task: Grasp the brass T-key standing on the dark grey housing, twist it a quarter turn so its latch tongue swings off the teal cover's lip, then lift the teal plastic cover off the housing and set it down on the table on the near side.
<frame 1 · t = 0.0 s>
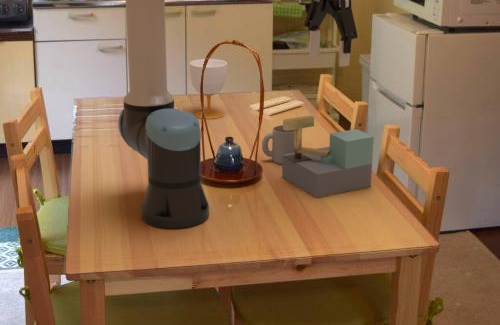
hand: (328, 60, 207), 28 cm above the table, fingers open, 13 cm apart
cover: (350, 162, 200), point 6 cm above the table, touching housing
housing: (325, 181, 203), on the table
cup 2: (208, 115, 259), on the table
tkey: (307, 140, 198), point 11 cm above the table, hinge at 0.0°
cup: (280, 161, 218), on the table
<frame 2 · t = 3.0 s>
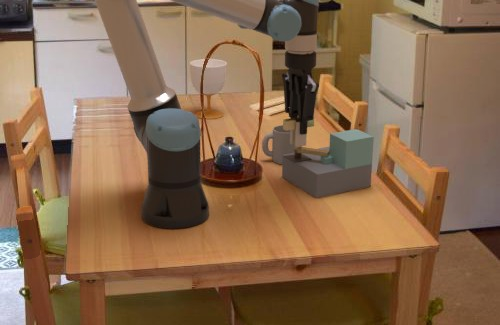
hand: (298, 144, 201), 10 cm above the table, fingers closed on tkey, 2 cm apart
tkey: (307, 140, 198), point 11 cm above the table, hinge at 0.0°, touching gripper
everything else where it was.
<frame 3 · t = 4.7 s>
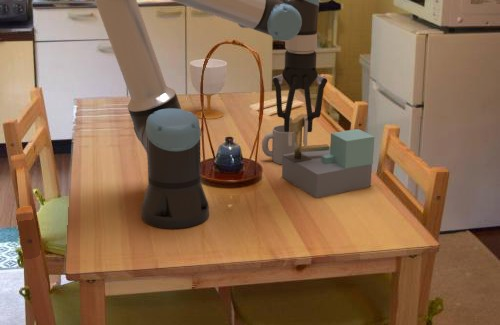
hand: (297, 144, 200), 10 cm above the table, fingers closed on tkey, 3 cm apart
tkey: (310, 138, 200), point 11 cm above the table, hinge at 37.3°, touching gripper
everything else where it was.
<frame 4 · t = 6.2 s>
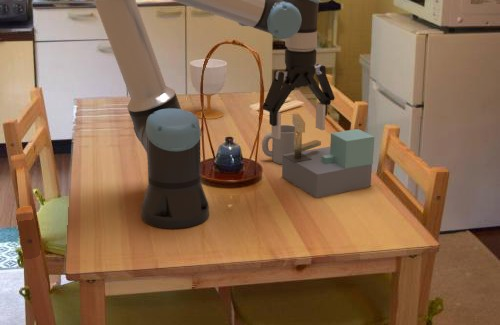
hand: (298, 133, 200), 12 cm above the table, fingers open, 13 cm apart
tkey: (309, 136, 201), point 11 cm above the table, hinge at 68.9°
everything else where it was.
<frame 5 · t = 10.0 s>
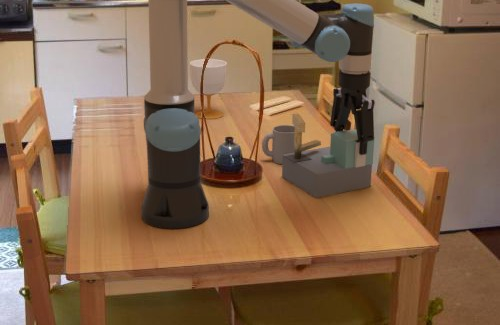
hand: (349, 160, 200), 6 cm above the table, fingers closed on housing, 7 cm apart
nothing on the table moved.
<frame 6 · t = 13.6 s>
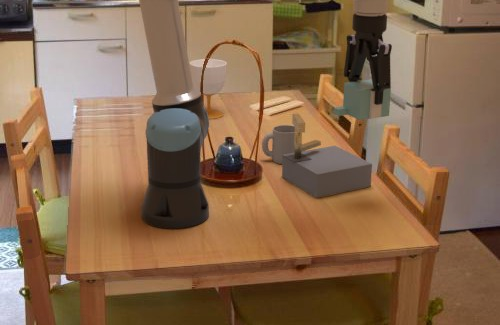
hand: (364, 113, 186), 21 cm above the table, fingers closed on cover, 7 cm apart
cover: (365, 114, 186), point 21 cm above the table, touching gripper
everything else where it was.
when the fingers open (3 cm above the table, at t = 16.5 s): cover drops 3 cm, on the table.
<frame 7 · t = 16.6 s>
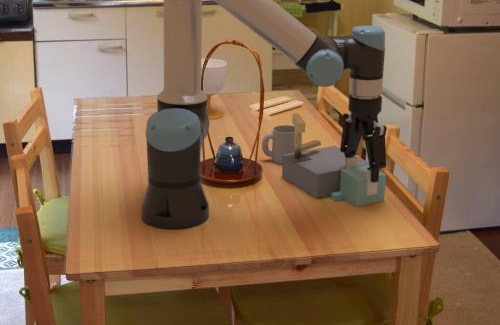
hand: (360, 188, 192), 3 cm above the table, fingers open, 7 cm apart
cover: (361, 199, 193), on the table, touching gripper
everything else where it was.
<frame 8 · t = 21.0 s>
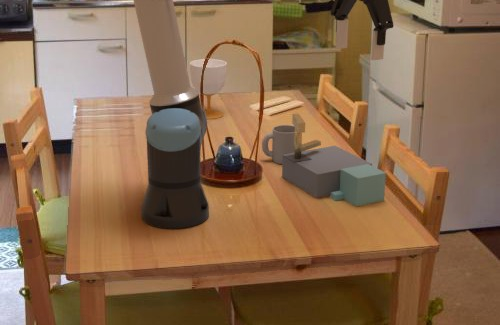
hand: (358, 53, 183), 35 cm above the table, fingers open, 13 cm apart
cover: (361, 198, 193), on the table
everything else where it was.
at the end: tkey at +69° (first picture: +0°); cover inside the target area (0.5 cm from its centre), on the table; cover tilted 0° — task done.
